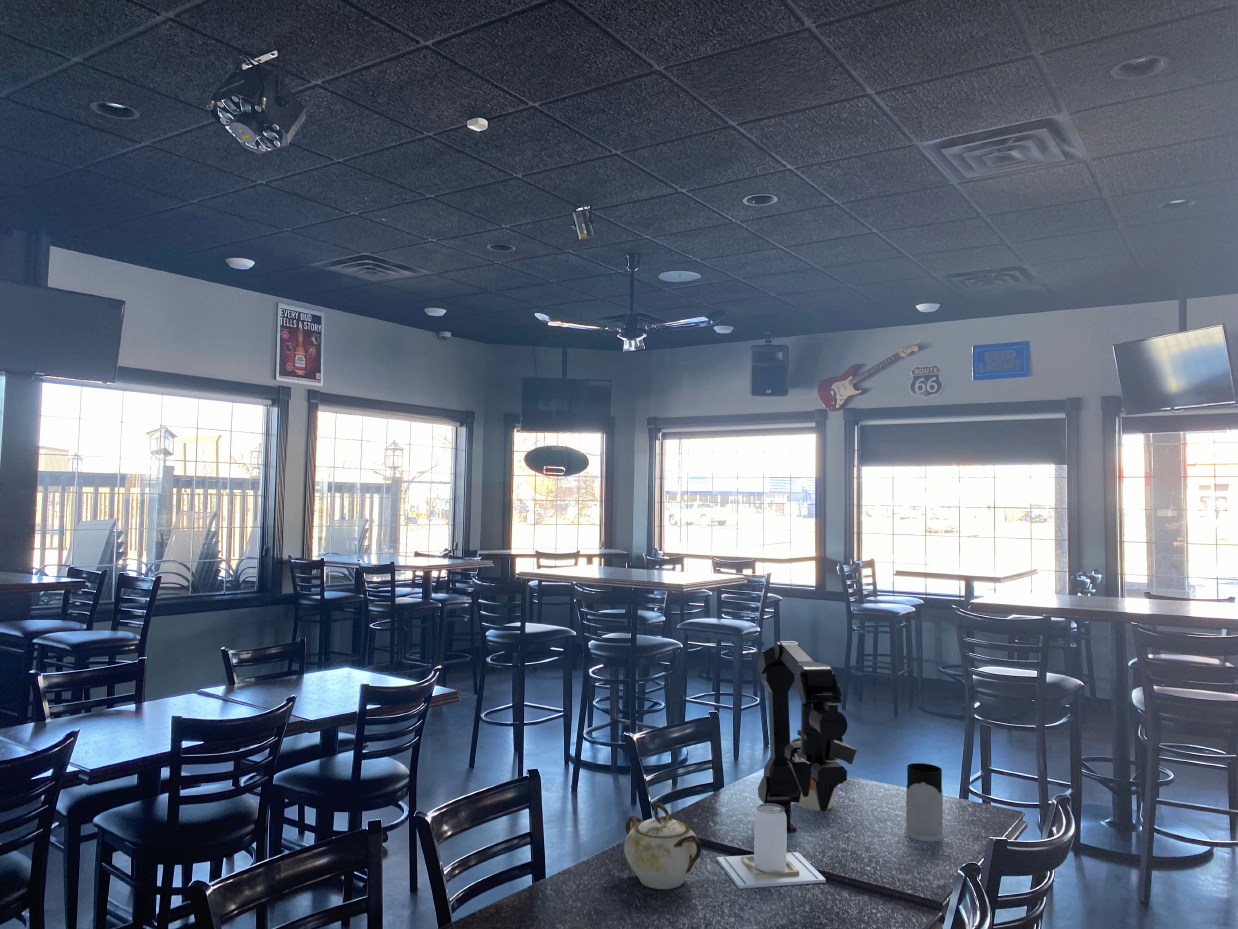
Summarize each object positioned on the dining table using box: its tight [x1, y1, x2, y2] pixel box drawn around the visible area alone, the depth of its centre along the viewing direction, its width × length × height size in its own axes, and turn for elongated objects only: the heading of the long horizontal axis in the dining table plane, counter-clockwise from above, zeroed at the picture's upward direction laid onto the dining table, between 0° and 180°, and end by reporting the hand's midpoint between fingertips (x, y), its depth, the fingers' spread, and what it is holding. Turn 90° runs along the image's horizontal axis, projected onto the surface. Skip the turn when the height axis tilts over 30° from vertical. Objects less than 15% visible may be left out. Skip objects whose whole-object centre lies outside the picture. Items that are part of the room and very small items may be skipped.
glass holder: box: [903, 762, 945, 843], centre depth 207 cm, size 9×14×15 cm, turn 158°
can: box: [753, 803, 788, 872], centre depth 183 cm, size 6×6×12 cm
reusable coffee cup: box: [790, 736, 840, 811], centre depth 224 cm, size 13×13×15 cm
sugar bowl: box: [623, 802, 702, 890], centre depth 177 cm, size 20×15×15 cm
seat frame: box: [741, 855, 799, 879], centre depth 183 cm, size 9×9×1 cm
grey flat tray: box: [716, 851, 826, 890], centre depth 183 cm, size 14×18×1 cm
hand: (814, 804), depth 185 cm, fingers open, 9 cm apart
